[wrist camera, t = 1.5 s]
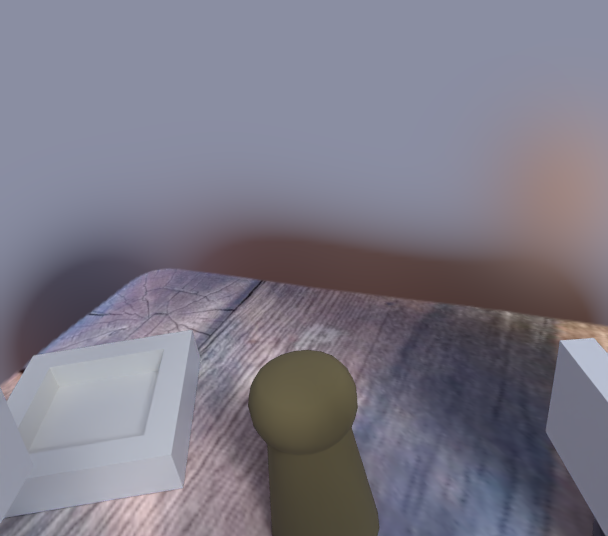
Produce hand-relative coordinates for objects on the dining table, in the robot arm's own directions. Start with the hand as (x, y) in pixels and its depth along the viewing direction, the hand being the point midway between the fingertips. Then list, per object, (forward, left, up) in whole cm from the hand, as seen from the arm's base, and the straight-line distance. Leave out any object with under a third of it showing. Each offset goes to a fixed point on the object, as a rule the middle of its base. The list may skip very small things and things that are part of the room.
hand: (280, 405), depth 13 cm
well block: (+15, -20, -18) cm, 31 cm away
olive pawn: (0, -10, -18) cm, 21 cm away
